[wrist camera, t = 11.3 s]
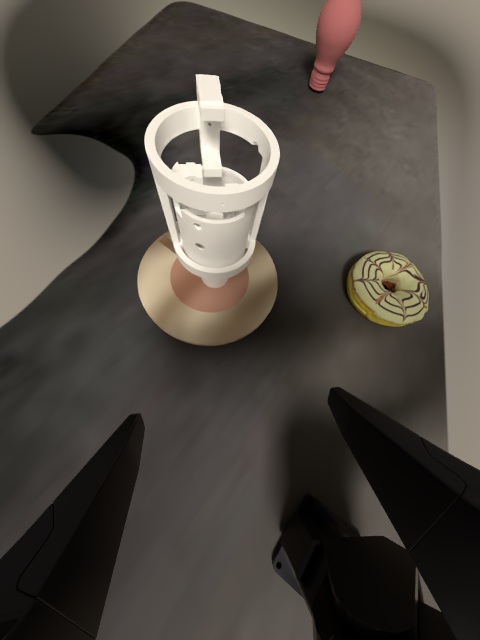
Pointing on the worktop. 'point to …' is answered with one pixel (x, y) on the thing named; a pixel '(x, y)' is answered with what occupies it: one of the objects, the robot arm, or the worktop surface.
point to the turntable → (205, 296)
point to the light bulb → (333, 37)
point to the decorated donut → (403, 289)
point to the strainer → (211, 184)
